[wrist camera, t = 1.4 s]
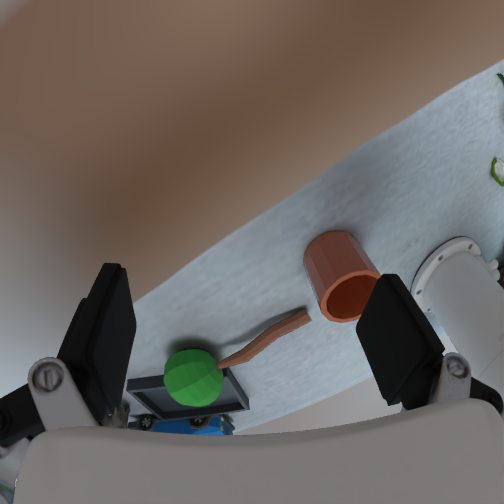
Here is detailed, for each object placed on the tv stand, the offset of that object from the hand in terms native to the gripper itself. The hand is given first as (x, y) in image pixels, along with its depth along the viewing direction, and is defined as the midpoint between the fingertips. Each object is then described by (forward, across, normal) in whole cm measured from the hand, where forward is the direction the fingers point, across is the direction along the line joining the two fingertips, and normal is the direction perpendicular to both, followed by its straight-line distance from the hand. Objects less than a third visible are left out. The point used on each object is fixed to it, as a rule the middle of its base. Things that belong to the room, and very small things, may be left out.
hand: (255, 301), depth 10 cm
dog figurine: (+16, +20, +45) cm, 52 cm away
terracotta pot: (+16, -11, +9) cm, 21 cm away
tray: (+16, +5, +36) cm, 40 cm away
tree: (+16, -2, +22) cm, 27 cm away
